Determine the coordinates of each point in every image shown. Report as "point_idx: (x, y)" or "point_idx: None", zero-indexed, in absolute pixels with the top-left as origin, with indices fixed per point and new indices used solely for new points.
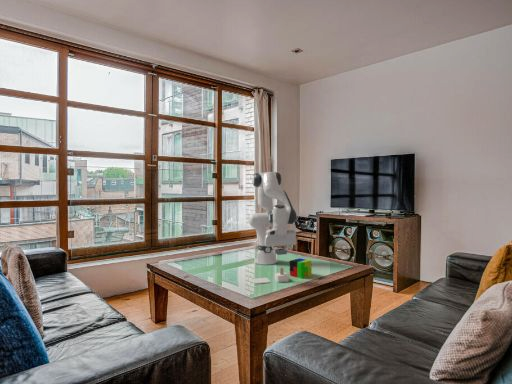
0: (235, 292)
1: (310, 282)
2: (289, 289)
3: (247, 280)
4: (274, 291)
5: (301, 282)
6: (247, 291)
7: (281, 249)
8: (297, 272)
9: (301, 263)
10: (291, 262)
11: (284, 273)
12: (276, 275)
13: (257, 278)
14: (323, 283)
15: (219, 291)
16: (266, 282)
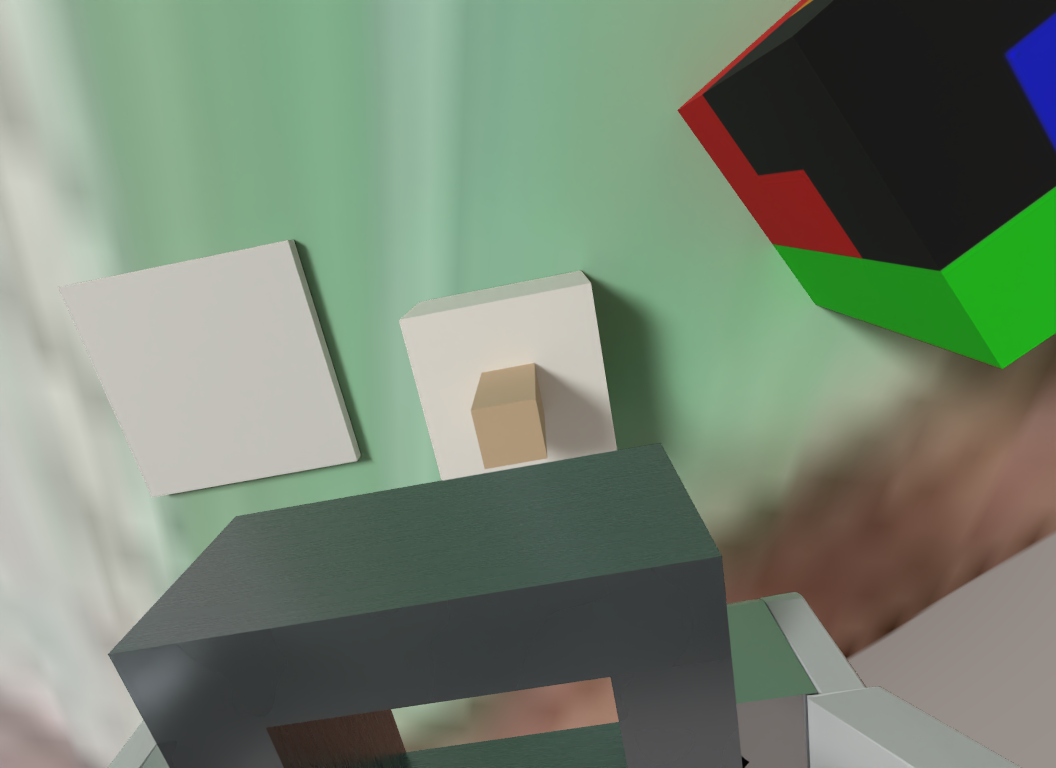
0: (18, 721)
1: (870, 494)
2: (568, 694)
3: (15, 306)
4: (411, 730)
5: (759, 482)
6: (135, 707)
7: (527, 660)
8: (810, 249)
9: (1003, 358)
10: (814, 108)
11: (565, 364)
12: (429, 422)
13: (146, 273)
14: (1006, 548)
15: None
16: (305, 468)
